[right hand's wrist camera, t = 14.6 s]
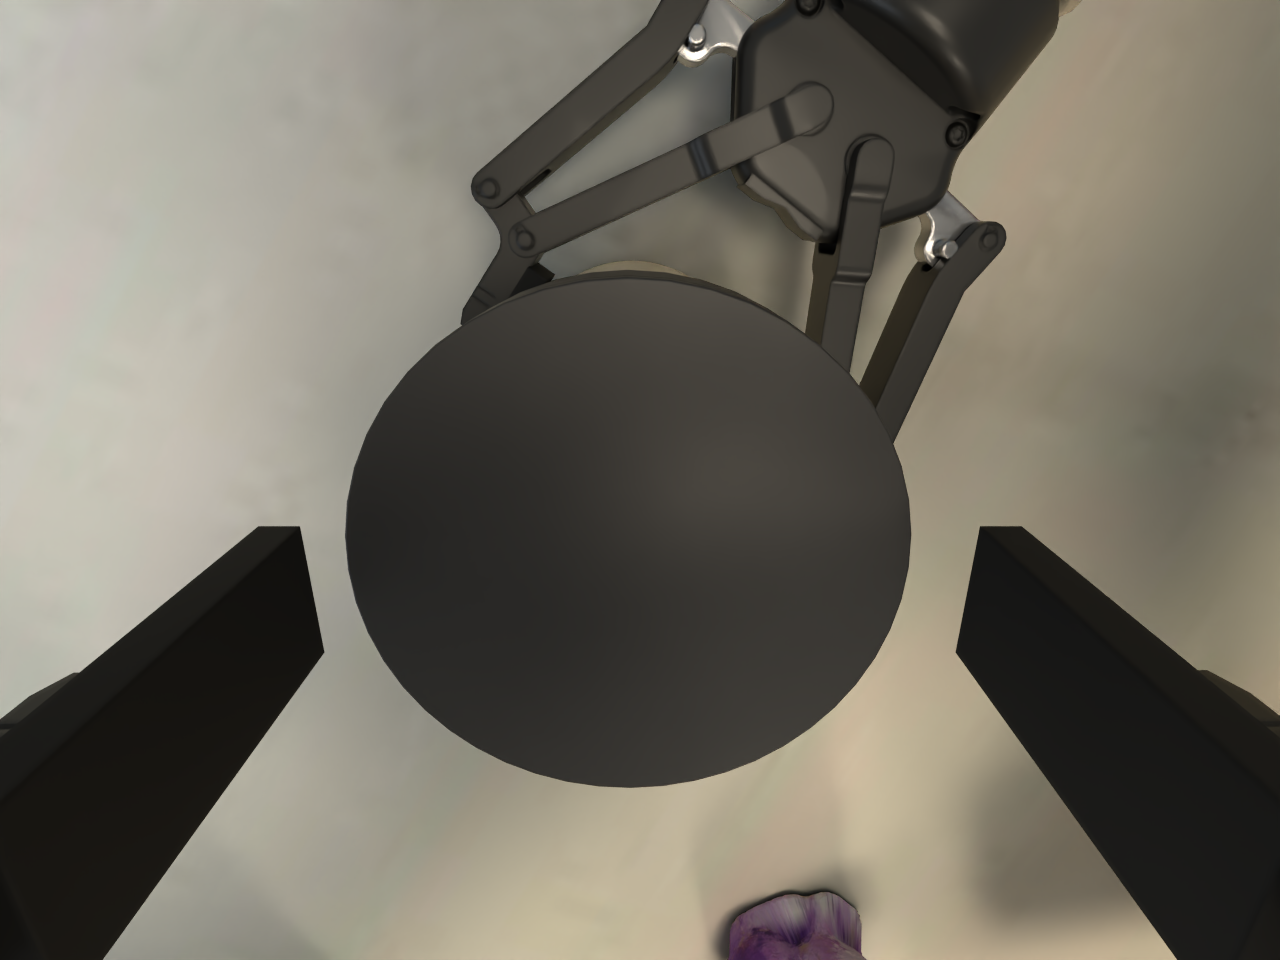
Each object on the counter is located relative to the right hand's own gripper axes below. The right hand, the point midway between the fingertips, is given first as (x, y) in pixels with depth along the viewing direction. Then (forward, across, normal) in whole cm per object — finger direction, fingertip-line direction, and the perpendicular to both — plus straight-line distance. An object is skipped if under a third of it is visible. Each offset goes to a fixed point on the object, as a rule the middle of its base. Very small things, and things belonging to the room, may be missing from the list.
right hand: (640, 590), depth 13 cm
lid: (+2, 0, 0) cm, 2 cm away
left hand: (+14, -3, -4) cm, 15 cm away
